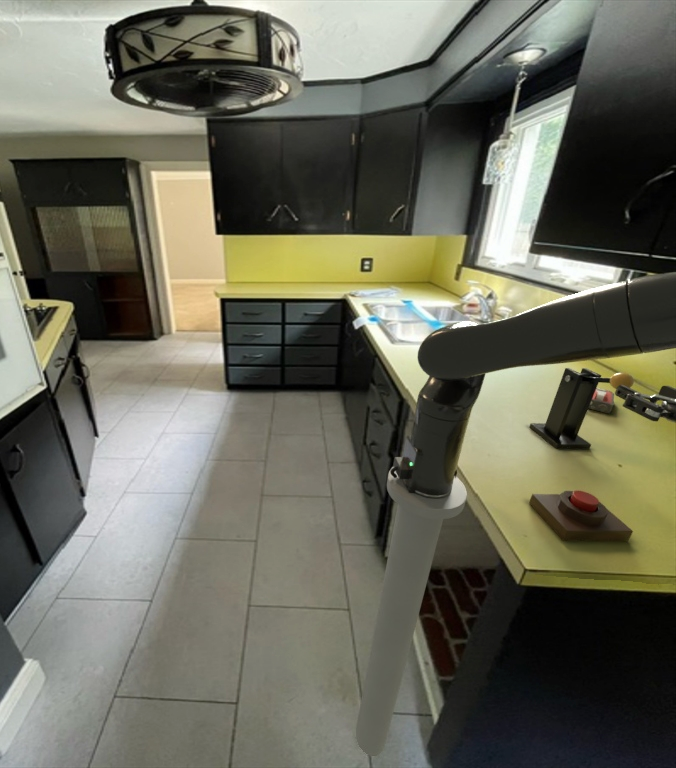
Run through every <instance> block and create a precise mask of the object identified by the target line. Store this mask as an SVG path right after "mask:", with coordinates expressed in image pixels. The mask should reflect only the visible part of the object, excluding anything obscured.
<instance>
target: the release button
mask: <svg viewBox="0 0 676 768" xmlns="http://www.w3.org/2000/svg"><path fill="white" fill-rule="evenodd" d="M573 491H574V492H573V494H572V496H571V498H570V503H572V504H573V505H574V506H575V507H577V508H579V509H581V510H584V511H588V512H594V511H595V510H596V508H597V506H598V504H599V502H600V500H599V498H597V497H596V496H595V495H593V494H592V493H590V492H587V491H584V490H573Z"/></svg>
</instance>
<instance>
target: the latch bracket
mask: <svg viewBox="0 0 676 768" xmlns="http://www.w3.org/2000/svg"><path fill="white" fill-rule="evenodd" d="M580 373H582V374H590V377H598V378H602V374H600V373H597V372H595V371H593V370H591V369H589V368H587V367H585V368H583V367H582V368H581V371H580V372H578V371H577V370H574V369H572V368H571V367H565V368H564V371H563V373H562V377H561V379H560V382H559V384H558V387H557V391H556V393H555V396H554V399H553V401H552V404H551V407H550V410H549V412H548V416H547V418H546V421H545V422H542V423H541V422H540V423H539V422H531V423H530V424H529V428H530V429H531V430H532V431H534V433H536V434H537V435H538V436H540V437H541V438H543V440H545V441H546V442H547V443H549V444H550V445H551V446H552V447H554V448H555V449H559V450H561V449H566V450H567V449H570V450H571V449H573V450H574V449H575V450H577V449H579V450H590V449H591V447H592V444H591V443H590V442H588V441H587V440H585V439H584V438H582V436H580V435H579V432H580V430H581V427H582V424H583V422H584V419H585V417H586V415H587V413H588V408H589V405H590V403H591V400H592V398H593V395H594V393H595V390H596V388H598V386H599V383H600V382H590V384H581V381H582V379H583V376H584V375H582V374H580Z"/></svg>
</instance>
